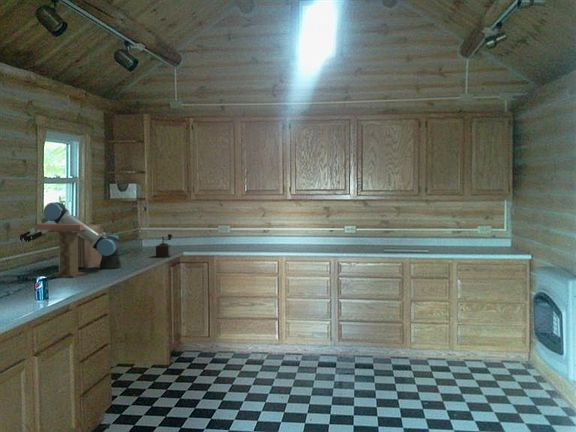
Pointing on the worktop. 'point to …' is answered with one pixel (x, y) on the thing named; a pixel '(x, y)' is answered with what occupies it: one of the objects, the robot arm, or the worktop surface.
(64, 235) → the shelf stand
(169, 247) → the coffee grinder
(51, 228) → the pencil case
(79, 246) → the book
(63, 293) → the worktop surface
